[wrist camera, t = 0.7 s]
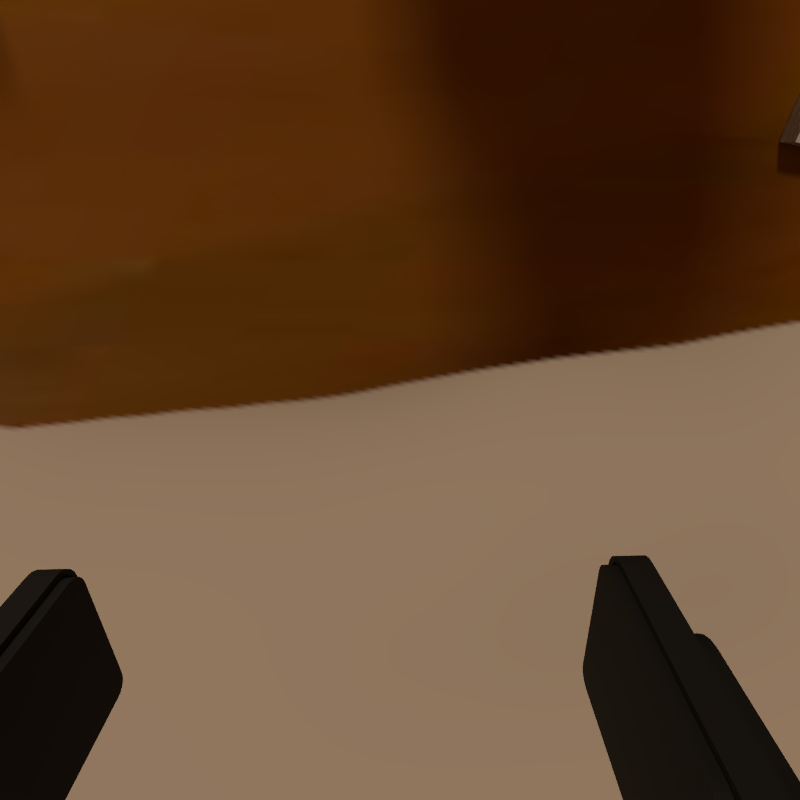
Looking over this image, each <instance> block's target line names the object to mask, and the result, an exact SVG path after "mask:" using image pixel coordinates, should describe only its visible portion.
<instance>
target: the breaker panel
mask: <svg viewBox="0 0 800 800" xmlns="http://www.w3.org/2000/svg"><path fill="white" fill-rule="evenodd" d="M779 142H781V143H786V144H791V145H795V146H800V96H799V98H798V101H797V103H796V105H795V107H794V110H793V112H792V114H791V116H790V118H789V121H788V123H787V125H786V127H785V130H784V132H783V134H782V136H781V139H780V141H779Z"/></svg>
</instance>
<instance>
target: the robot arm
mask: <svg viewBox="0 0 800 800" xmlns="http://www.w3.org/2000/svg"><path fill="white" fill-rule="evenodd" d="M583 676H584V682H585V686H586V689H587V692H588V695H589V699H590V702H591V705H592V708H593V710H594V714H595V717H596V720H597V722H598V726H599V729H600V731H601V735H602V737H603V741H604V744H605V747H606V750H607V753H608V756H609V759H610V761H611V765H612V768H613V771H614V774H615V776H616V780H617V783H618V786H619V789H620V792H621V795H622V798H623V800H800V781H799V780H798V778H797V777H796V775H795V773H794V772H793V770H792V768H791V767H790V765H789V764H788V762H787V760H786V759H785V757H784V756H783V754H782V752H781V751H780V749H779V747H778V746H777V744H776V743H775V741H774V739H773V738H772V736H771V734H770V733H769V731H768V730H767V728H766V726H765V725H764V723H763V722H762V720H761V718H760V717H759V715H758V714H757V712H756V710H755V709H754V707H753V705H752V704H751V702H750V700H749V699H748V697H747V696H746V694H745V693H744V691H743V689H742V688H741V686H740V684H739V683H738V681H737V679H736V678H735V676H734V675H733V673H732V671H731V670H730V668H729V667H728V665H727V664H726V662H725V660H724V658H723V657H722V655H721V654H720V652H719V650H718V649H717V647H716V646H715V645H714V644H713V642H712V641H711V640H710V639H709V638H708V637H706V636H705V635H703V634H694V633H693V631H692V629H691V628H690V626H689V624H688V623H687V621H686V619H685V618H684V616H683V614H682V612H681V611H680V609H679V607H678V606H677V604H676V602H675V601H674V599H673V597H672V595H671V594H670V592H669V590H668V589H667V587H666V585H665V584H664V582H663V580H662V578H661V577H660V575H659V573H658V572H657V570H656V568H655V567H654V565H653V563H652V562H651V560H650V559H649V558H648V557H647V556H612V557H611V559H610V561H609V565H601V567H600V569H599V574H598V580H597V586H596V592H595V598H594V604H593V610H592V616H591V621H590V627H589V633H588V639H587V645H586V651H585V657H584V662H583ZM122 682H123V677H122V672H121V670H120V667H119V665H118V662H117V660H116V657H115V655H114V652H113V650H112V648H111V645H110V643H109V640H108V638H107V635H106V633H105V630H104V628H103V626H102V623H101V621H100V618H99V616H98V613H97V611H96V608H95V606H94V604H93V601H92V598H91V596H90V594H89V591H88V589H87V586H86V584H85V582H84V580H83V579H82V578H80V577H77V575H76V573H75V572H74V571H72V570H71V569H52V570H36V571H33V572H31V573H30V574H29V575H28V576H27V577H26V578H25V579H24V580H23V581H22V583H21V584H20V585H19V586H18V587H17V588H16V590H15V591H14V592H13V593H12V594H11V595H10V596H9V598H8V599H7V600H6V601H5V602H4V603H3V604H2V606H1V607H0V800H65V799H66V797H67V795H68V793H69V791H70V789H71V787H72V785H73V784H74V782H75V780H76V778H77V775H78V774H79V772H80V770H81V768H82V766H83V764H84V762H85V760H86V758H87V757H88V755H89V753H90V751H91V749H92V747H93V745H94V743H95V741H96V739H97V737H98V735H99V733H100V731H101V729H102V727H103V726H104V724H105V722H106V720H107V718H108V716H109V714H110V712H111V710H112V708H113V706H114V704H115V702H116V701H117V699H118V696H119V694H120V692H121V688H122Z"/></svg>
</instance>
